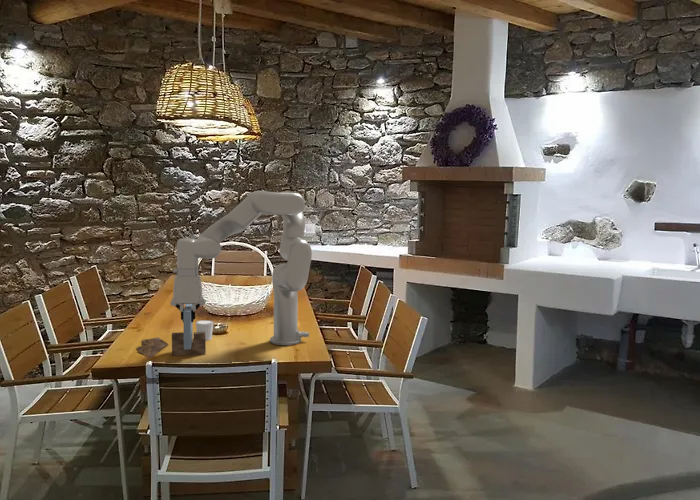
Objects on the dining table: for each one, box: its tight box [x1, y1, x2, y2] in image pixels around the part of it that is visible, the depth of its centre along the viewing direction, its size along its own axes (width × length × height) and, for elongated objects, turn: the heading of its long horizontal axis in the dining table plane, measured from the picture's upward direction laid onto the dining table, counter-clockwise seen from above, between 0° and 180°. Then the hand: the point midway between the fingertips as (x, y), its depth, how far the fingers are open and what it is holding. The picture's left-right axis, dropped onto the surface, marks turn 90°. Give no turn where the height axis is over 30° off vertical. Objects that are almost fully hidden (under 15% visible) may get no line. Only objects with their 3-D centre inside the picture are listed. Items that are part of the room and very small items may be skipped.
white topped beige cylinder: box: [195, 319, 214, 341], centre depth 248 cm, size 7×7×7 cm
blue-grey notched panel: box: [182, 304, 194, 350], centre depth 227 cm, size 14×2×14 cm, turn 11°
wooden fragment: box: [136, 336, 169, 358], centre depth 236 cm, size 26×11×1 cm, turn 9°
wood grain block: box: [171, 331, 207, 356], centre depth 228 cm, size 12×2×8 cm, turn 101°
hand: (188, 321), depth 227 cm, fingers closed on blue-grey notched panel, 2 cm apart
